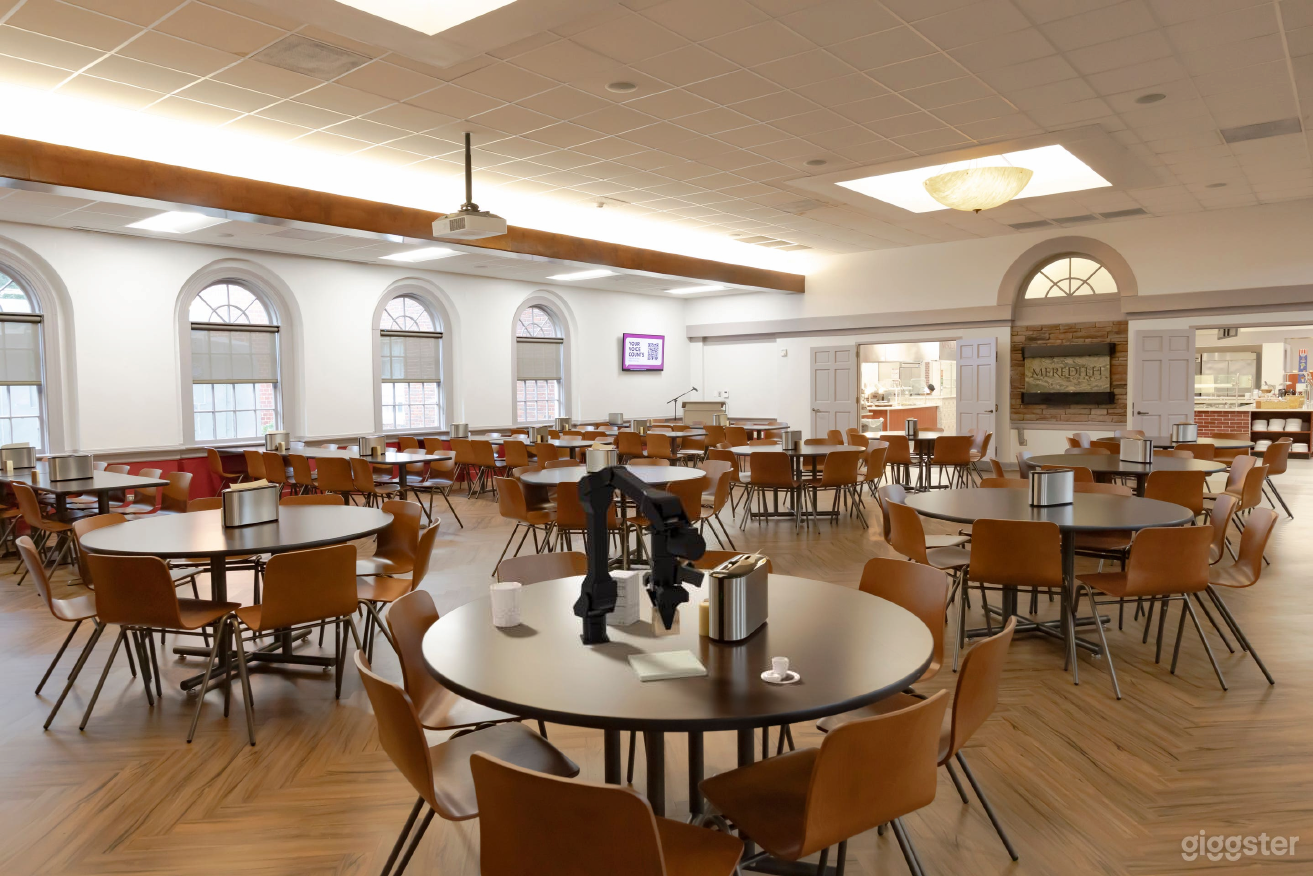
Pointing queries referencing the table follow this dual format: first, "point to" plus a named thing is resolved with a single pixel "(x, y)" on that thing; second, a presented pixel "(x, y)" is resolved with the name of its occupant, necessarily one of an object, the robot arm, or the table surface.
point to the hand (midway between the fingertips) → (665, 626)
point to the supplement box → (625, 599)
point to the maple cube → (659, 626)
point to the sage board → (666, 665)
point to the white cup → (506, 603)
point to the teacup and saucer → (779, 671)
